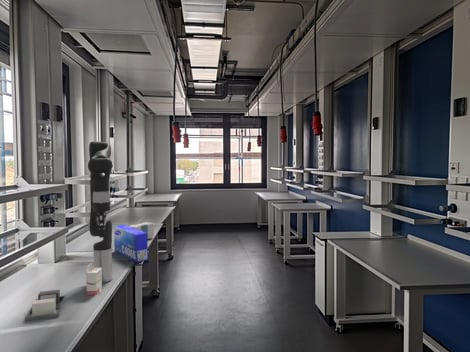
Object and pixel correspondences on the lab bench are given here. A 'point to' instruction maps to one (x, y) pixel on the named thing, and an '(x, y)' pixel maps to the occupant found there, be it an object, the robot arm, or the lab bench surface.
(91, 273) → the ink cartridge box
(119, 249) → the toner cartridge box
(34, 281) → the lab bench surface
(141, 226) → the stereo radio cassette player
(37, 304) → the block
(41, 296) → the block
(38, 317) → the tray with compartments
